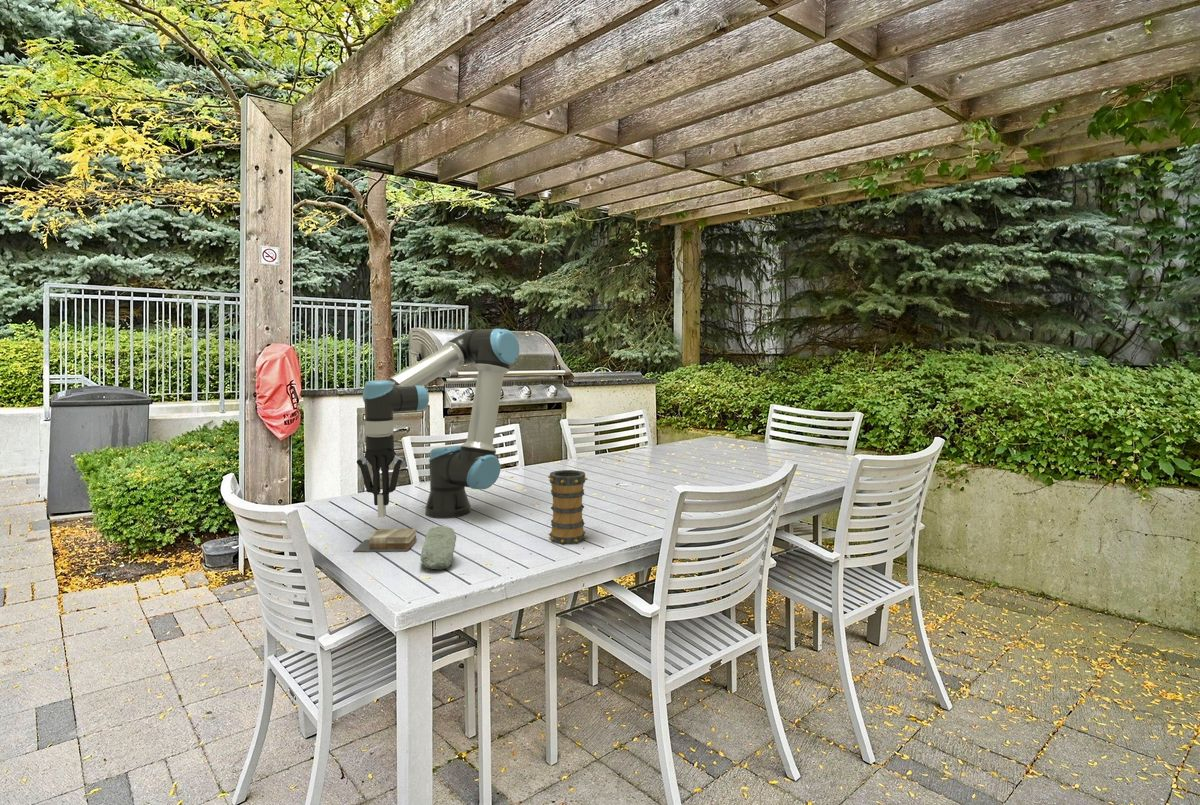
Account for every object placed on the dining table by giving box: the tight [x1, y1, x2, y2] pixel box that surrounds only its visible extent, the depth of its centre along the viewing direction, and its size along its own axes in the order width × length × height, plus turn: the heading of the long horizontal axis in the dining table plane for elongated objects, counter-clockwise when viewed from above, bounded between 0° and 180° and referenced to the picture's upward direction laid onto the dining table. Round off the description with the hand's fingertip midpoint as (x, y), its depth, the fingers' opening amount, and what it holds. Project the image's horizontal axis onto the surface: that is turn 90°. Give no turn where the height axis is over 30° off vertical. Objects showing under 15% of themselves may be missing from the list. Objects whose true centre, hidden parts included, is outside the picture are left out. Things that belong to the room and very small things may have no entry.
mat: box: [352, 539, 417, 553], centre depth 180 cm, size 15×10×1 cm, turn 92°
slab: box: [368, 528, 417, 550], centre depth 180 cm, size 4×8×11 cm
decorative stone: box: [420, 524, 457, 570], centre depth 166 cm, size 13×11×10 cm
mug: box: [547, 469, 589, 545], centre depth 189 cm, size 13×17×20 cm
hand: (382, 516), depth 180 cm, fingers closed
